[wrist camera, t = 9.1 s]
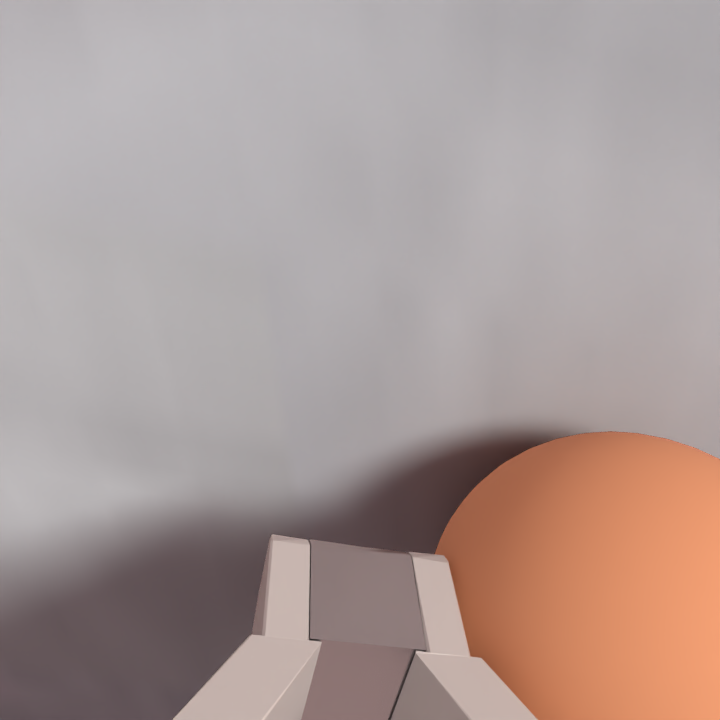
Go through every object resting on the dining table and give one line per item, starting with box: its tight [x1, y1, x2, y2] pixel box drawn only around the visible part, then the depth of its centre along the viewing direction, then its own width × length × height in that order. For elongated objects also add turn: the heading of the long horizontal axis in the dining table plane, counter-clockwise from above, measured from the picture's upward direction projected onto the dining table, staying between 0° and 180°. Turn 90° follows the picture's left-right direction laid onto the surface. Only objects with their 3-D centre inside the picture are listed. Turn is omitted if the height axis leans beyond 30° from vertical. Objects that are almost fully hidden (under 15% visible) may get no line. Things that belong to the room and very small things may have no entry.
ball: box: [435, 431, 720, 720], centre depth 10 cm, size 6×6×6 cm
